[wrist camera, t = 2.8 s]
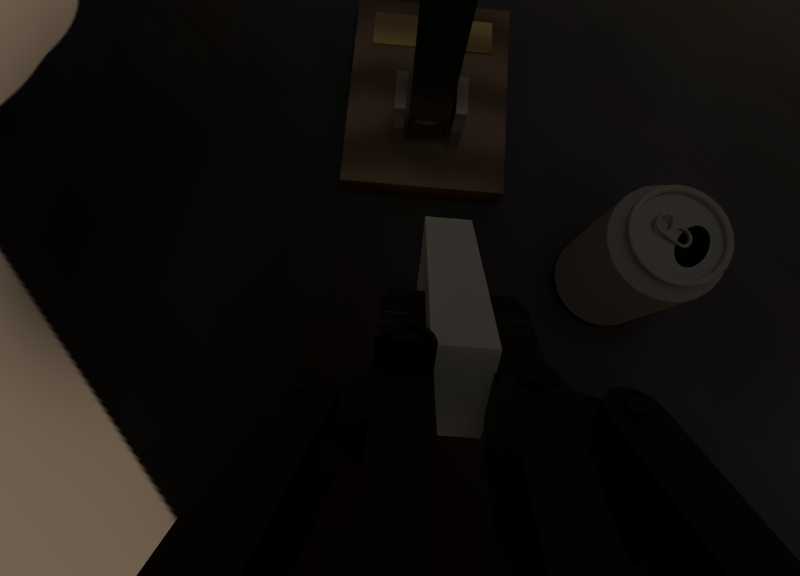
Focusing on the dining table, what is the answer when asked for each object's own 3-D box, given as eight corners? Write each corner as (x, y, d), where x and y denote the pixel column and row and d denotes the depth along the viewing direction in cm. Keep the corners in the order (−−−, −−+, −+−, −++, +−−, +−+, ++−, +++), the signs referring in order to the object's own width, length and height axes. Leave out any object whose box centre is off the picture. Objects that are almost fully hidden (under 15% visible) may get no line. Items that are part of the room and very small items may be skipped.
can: (612, 346, 39) (710, 323, 28) (532, 290, 40) (595, 244, 28) (658, 272, 41) (770, 221, 29) (581, 219, 41) (660, 148, 30)
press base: (497, 203, 41) (520, 164, 35) (341, 189, 41) (333, 147, 34) (504, 28, 45) (525, -38, 38) (361, 14, 45) (357, -55, 38)
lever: (445, 144, 40) (517, -139, 19) (405, 141, 39) (432, -148, 19) (447, 108, 40) (519, -203, 19) (408, 105, 40) (437, -212, 19)
